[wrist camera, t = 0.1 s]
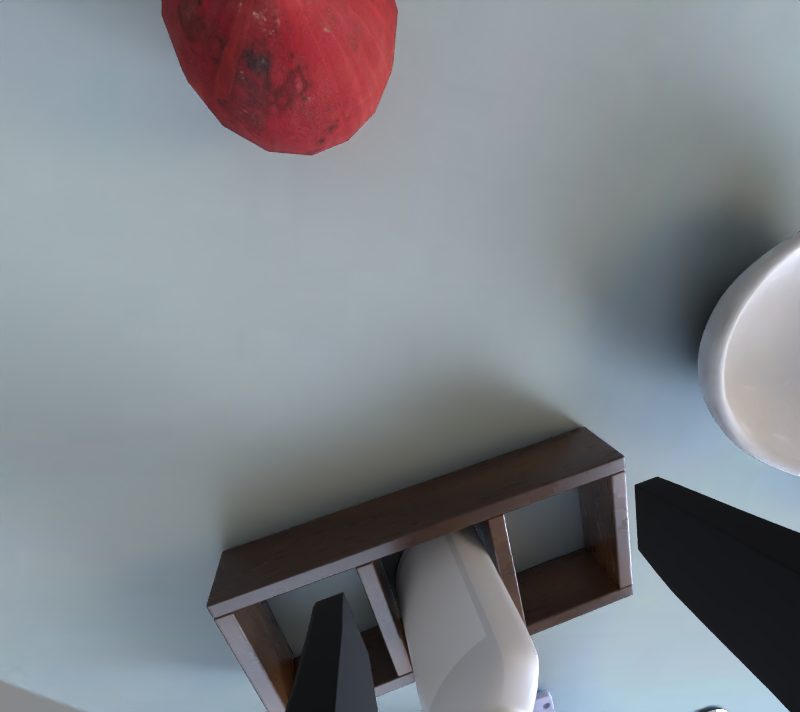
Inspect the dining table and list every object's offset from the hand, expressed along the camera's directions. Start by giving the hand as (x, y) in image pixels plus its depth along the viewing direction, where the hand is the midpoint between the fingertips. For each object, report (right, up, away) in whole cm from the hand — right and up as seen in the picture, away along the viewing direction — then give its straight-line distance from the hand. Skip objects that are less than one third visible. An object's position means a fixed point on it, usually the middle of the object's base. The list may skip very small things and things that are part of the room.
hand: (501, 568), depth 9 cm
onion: (-6, +15, +5) cm, 17 cm away
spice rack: (-1, -6, +13) cm, 14 cm away
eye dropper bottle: (-1, -6, +13) cm, 14 cm away
